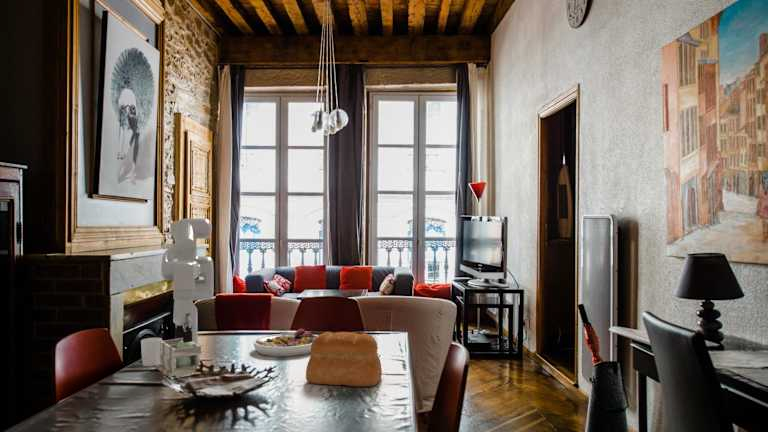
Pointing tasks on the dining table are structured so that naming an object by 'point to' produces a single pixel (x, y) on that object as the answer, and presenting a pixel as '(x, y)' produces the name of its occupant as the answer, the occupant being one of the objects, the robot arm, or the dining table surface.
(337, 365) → the bread
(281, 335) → the bowl
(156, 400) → the dining table surface
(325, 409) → the dining table surface
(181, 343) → the sage ball
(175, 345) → the grey divided rectangular box
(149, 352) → the white cup
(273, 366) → the dining table surface
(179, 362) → the sage ball
